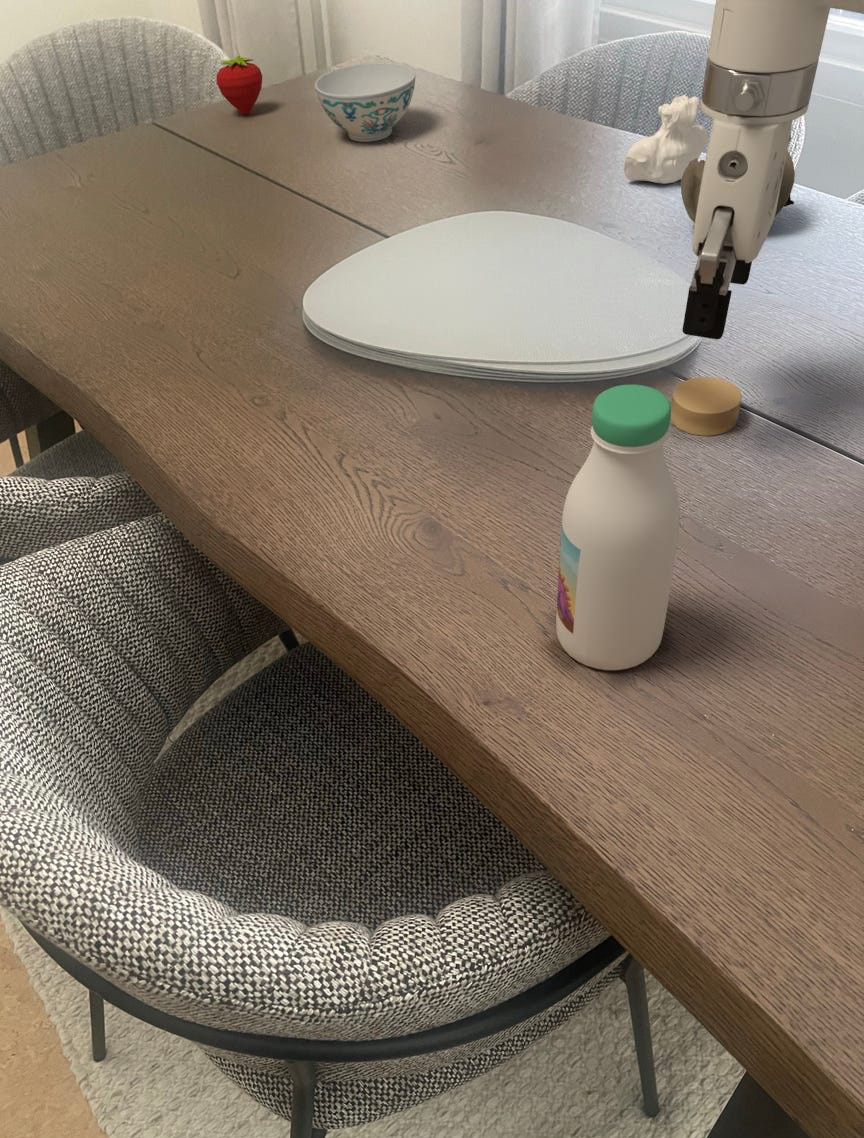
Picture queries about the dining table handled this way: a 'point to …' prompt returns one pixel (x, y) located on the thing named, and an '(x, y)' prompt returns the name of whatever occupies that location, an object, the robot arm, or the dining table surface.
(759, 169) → the robot arm
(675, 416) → the tan short cylinder
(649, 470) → the milk bottle
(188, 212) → the dining table surface
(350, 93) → the chinaware
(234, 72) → the strawberry
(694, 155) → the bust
